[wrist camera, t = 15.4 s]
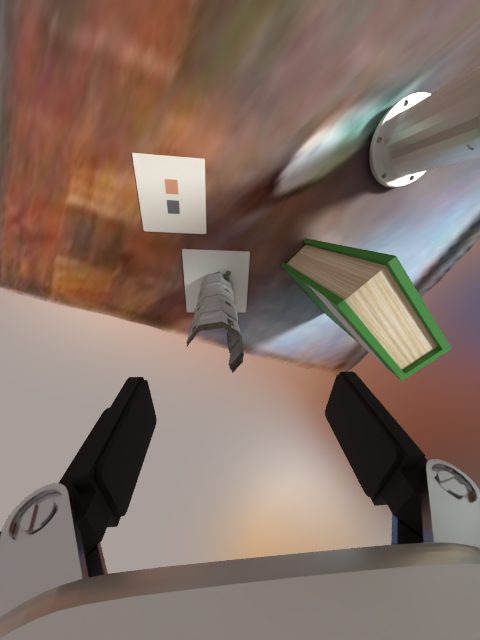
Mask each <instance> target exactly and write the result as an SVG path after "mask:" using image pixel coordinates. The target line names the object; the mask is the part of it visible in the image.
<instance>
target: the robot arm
mask: <svg viewBox="0 0 480 640" xmlns="http://www.w3.org/2000/svg"><path fill="white" fill-rule="evenodd" d="M479 157H480V65H478V66H476V67H475V68H473V69H471V70H470V71H468V72H467V73H465V74H463V75H462V76H460V77H458V78H457V79H455V80H453V81H452V82H450V83H448V84H447V85H445V86H444V87H442V88H440V89H439V90H437V91H435V92H434V93H432V94H430V93H426V92H417V93H414V94H410V95H409V96H407V97H405V98H403V99H402V100H400V101H399V102H397V103H396V104H395V105H394V106H392V107H391V108H390V109H389V110H388V111H387V113H386V114H385V115H384V116H383V118H382V119H381V121H380V123H379V124H378V126H377V128H376V130H375V133H374V135H373V138H372V142H371V146H370V153H369V161H370V168H371V171H372V174H373V176H374V177H375V179H376V180H377V181H378V182H379V183H380V184H382V185H384V186H386V187H390V188H394V187H401V186H405V185H407V184H410V183H412V182H413V181H415V180H417V179H418V178H419V177H420V176H422V175H423V174H424V173H425V172H426V171H427V170H431V169H435V168H439V167H443V166H447V165H451V164H455V163H459V162H463V161H467V160H471V159H475V158H479ZM325 415H326V418H327V420H328V422H329V424H330V426H331V428H332V430H333V432H334V434H335V436H336V438H337V440H338V442H339V444H340V446H341V448H342V449H343V451H344V453H345V455H346V457H347V459H348V461H349V463H350V465H351V467H352V469H353V471H354V473H355V475H356V477H357V479H358V481H359V483H360V485H361V487H362V488H363V490H364V492H365V494H366V495H367V496H368V497H370V498H371V500H372V502H373V503H374V505H388V506H389V508H390V510H391V512H392V541H391V545H385V546H374V547H362V548H351V549H341V550H330V551H319V552H309V553H298V554H288V555H278V556H268V557H257V558H247V559H237V560H227V561H219V562H218V561H217V562H208V563H198V564H188V565H179V566H169V567H159V568H152V569H143V570H136V571H128V572H120V573H112V574H108V573H107V569H106V565H105V560H104V556H103V552H102V548H101V544H100V542H101V541H102V538H103V536H104V533H105V531H106V528H107V527H116V526H118V523H119V520H120V517H121V516H124V515H125V514H126V512H127V509H128V507H129V504H130V500H131V498H132V495H133V492H134V489H135V485H136V483H137V480H138V476H139V474H140V470H141V467H142V465H143V462H144V458H145V455H146V453H147V449H148V447H149V443H150V440H151V437H152V435H153V432H154V429H155V425H156V415H155V410H154V406H153V402H152V398H151V394H150V390H149V386H148V382H147V380H144V378H143V377H129V378H128V379H127V381H126V382H125V384H124V386H123V387H122V389H121V390H120V392H119V394H118V396H117V397H116V399H115V401H114V402H113V404H112V405H111V407H110V408H107V409H106V410H105V411H104V412H103V414H102V415H101V416H100V418H99V420H98V421H97V423H96V424H95V426H94V428H93V429H92V431H91V432H90V434H89V435H88V437H87V439H86V440H85V442H84V443H83V445H82V447H81V448H80V450H79V451H78V453H77V455H76V456H75V458H74V460H73V461H72V463H71V464H70V466H69V467H68V469H67V471H66V472H65V474H64V475H63V477H62V479H61V480H60V482H59V483H58V484H56V483H53V484H50V485H46V486H44V487H42V488H40V489H38V490H36V491H34V492H33V493H32V494H30V495H29V496H28V497H26V498H25V499H24V500H23V501H22V502H21V503H20V504H19V505H18V506H17V507H16V508H15V509H14V510H13V512H12V513H11V514H10V515H9V517H8V519H7V520H6V522H5V524H4V526H3V528H2V531H1V532H0V640H480V490H479V489H478V487H477V486H476V484H475V483H474V482H473V481H472V480H471V479H470V478H469V477H468V476H467V475H466V474H465V473H463V472H462V471H461V470H459V469H458V468H456V467H455V466H453V465H451V464H450V463H447V462H444V461H442V460H437V459H433V460H429V461H427V460H426V458H425V457H424V456H425V455H424V453H423V452H422V451H421V450H420V449H419V447H418V446H417V445H416V444H415V443H414V442H413V440H412V439H411V438H410V437H409V436H408V434H407V433H406V432H405V431H404V430H403V429H402V428H401V426H400V425H399V424H398V423H397V422H396V420H395V419H394V418H393V417H392V416H391V415H390V413H389V412H388V411H387V410H386V409H385V407H384V406H383V405H382V404H381V403H380V402H379V400H378V399H377V398H376V397H375V396H374V395H373V394H372V392H371V391H370V390H369V389H368V388H367V387H366V385H365V384H364V383H363V382H362V380H361V379H360V378H359V377H358V376H357V375H356V373H354V372H340V374H339V375H337V376H336V379H335V382H334V385H333V389H332V392H331V394H330V397H329V401H328V404H327V407H326V410H325Z"/></svg>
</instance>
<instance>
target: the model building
mask: <svg viewBox="0 0 480 640" xmlns="http://www.w3.org/2000/svg"><path fill="white" fill-rule="evenodd" d="M230 273H231V272H230V271H228V270H227V271H226V273H225V274H222V273H220V272H217V273H214V274H209V275H207V276H206V277H205V278H204V280H203V282H202V283H201V286H200V292H199V295H198V299H197V300H198V301H197V304H196V308H195V310H194V312H195V314H194V318H193V321H192V324H191V328H190V333H189V336H188V340H187V346H188V345H189V343H190V342H191V341H192V340H193V338H194V337H195V335H196V334H197V333H198V332H199V331H203V330H210V329H218V328H224V329H226V330H227V331H228V332H227V341H228V347H229V351H230V352H229V353H230V360H229V366H230V369H231V370H232V372H234V371H235V370H236V369H237V367H238V366H239V365H240V364H241V363H242V362H243V356H244V353H243V351H244V349H243V344H242V339H241V338H242V337H241V332H240V328H239V324H238V319H239V318H238V314H237V309H236V306H235V304H236V301H235V296H234V293H235V292H234V289H233V284H232V281H231V279H230V278H229V275H230Z"/></svg>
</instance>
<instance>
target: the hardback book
mask: <svg viewBox="0 0 480 640" xmlns="http://www.w3.org/2000/svg"><path fill="white" fill-rule="evenodd" d="M303 243H304V244H305V246H304V247H303V248H302V249H301V250H300V251H299V252H298V253H297V254H296V255H295V256H294V257H293V258H292V259H291V260H290V261H289V262H288V263H287V264H286V263H285V262H282V263H281V264H280V265H281V266H282V267H283V268H284V269H285V271H286V272H287V273H288V274H289V275H290V276H291V277H292V278H293V279H294V280H295V281H296V283H297V284H298V285H299V286H300V287H301V288H302V289H303V290H304V291H305V292H306V293H307V295H308V296H309V297H310V298H311V299H312V300H313V301H314V302H315V303H316V304H317V305H318V307H319V308H320V309H321V310H322V311H323V312H324V313H325V314H326V315H327V316H328V317H330V318H331V319H332V320H333V321H334V322H335V323H336V324H338V325H339V326H340V327H341V328H342V329H343V330H344V331H346V332H347V333H348V334H349V335H350V336H351V337H352V338H354V339H355V340H356V341H357V342H358V343H359V344H360V345H362V346H363V347H364V348H365V349H366V350H367V351H368V352H370V353H371V354H372V355H373V356H374V357H375V358H377V359H378V360H379V361H380V362H381V363H382V364H383V365H385V366H386V367H387V368H388V369H389V370H390V371H391V372H392V373H394V374H395V375H396V376H397V377H398V378H399V379H400V380H404V379H405V378H407V377H409V376H410V375H411V374H413V373H415V372H416V371H418V370H419V369H421V368H422V367H424V366H425V365H427V364H428V363H430V362H432V361H433V360H435V359H436V358H437V357H439V356H441V355H442V354H444V353H445V352H447V351H449V350H450V349H451V347H450V346H449V344H448V342H447V341H446V339H445V337H444V336H443V334H442V332H441V331H440V329H439V327H438V326H437V324H436V322H435V321H434V319H433V317H432V316H431V314H430V312H429V310H428V309H427V307H426V306H425V304H424V302H423V300H422V299H421V297H420V295H419V294H418V292H417V290H416V289H415V287H414V285H413V284H412V282H411V280H410V279H409V277H408V275H407V274H406V272H405V270H404V269H403V267H402V265H401V264H400V262H399V260H398V259H397V257H396V256H393V255H388V254H383V253H378V252H373V251H368V250H362V249H357V248H352V247H347V246H342V245H337V244H331V243H326V242H321V241H316V240H311V239H305V240H304V241H303Z"/></svg>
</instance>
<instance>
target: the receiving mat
mask: <svg viewBox="0 0 480 640" xmlns="http://www.w3.org/2000/svg"><path fill="white" fill-rule="evenodd" d="M182 257H183V270H184V283H185V296H186V308H187V312H194V310H195V308H196V304H197V301H198V300H197V299H198V295H199V292H200V286H201V283H202V282H203V280H204V278H205V277H206V276H207V275H209V274H214V273H217V272H220V273H222V274H225V273H226V271H227V270H228V271H230V272H231V273H230V275H229V278H230V279H231V281H232V284H233V289H234V292H235V293H234V296H235V301H236V304H235V306H236V309H237V313H246V306H247V291H248V276H249V261H250V251H223V250H197V249H182Z"/></svg>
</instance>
